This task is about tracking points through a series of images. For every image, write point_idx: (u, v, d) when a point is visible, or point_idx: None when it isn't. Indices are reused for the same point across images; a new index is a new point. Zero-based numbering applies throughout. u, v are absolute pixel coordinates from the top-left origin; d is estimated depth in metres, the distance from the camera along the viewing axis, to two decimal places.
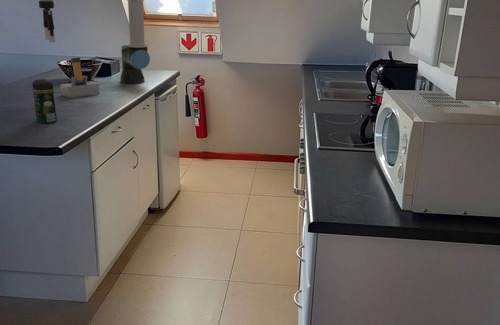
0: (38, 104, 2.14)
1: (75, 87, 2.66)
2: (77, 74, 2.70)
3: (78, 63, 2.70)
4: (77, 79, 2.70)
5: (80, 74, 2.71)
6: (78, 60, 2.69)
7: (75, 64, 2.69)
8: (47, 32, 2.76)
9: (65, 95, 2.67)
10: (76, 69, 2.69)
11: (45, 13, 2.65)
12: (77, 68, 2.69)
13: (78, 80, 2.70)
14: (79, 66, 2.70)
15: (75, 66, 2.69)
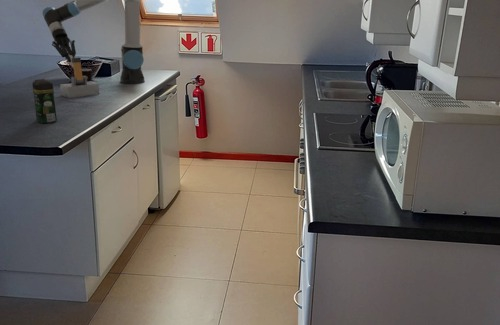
0: (38, 104, 2.14)
1: (75, 87, 2.66)
2: (77, 74, 2.70)
3: (78, 63, 2.69)
4: (77, 79, 2.70)
5: (80, 74, 2.71)
6: (79, 60, 2.69)
7: (75, 64, 2.68)
8: (71, 60, 2.72)
9: (65, 95, 2.67)
10: (76, 69, 2.69)
11: None
12: (77, 68, 2.69)
13: (78, 80, 2.70)
14: (79, 66, 2.70)
15: (75, 66, 2.68)
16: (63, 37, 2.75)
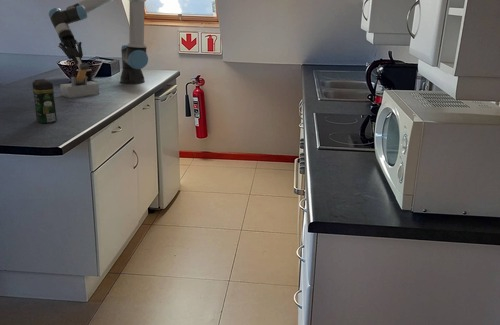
0: (38, 104, 2.14)
1: (75, 87, 2.66)
2: (80, 77, 2.68)
3: (85, 70, 2.66)
4: (78, 81, 2.70)
5: (83, 77, 2.70)
6: (86, 68, 2.65)
7: (82, 71, 2.65)
8: None
9: (65, 95, 2.67)
10: (81, 74, 2.67)
11: None
12: (82, 73, 2.67)
13: (78, 82, 2.71)
14: (85, 72, 2.67)
15: (81, 72, 2.65)
16: (70, 39, 2.70)
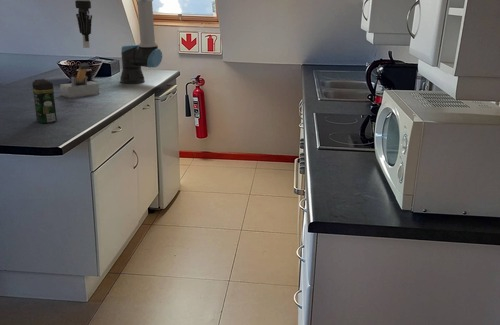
0: (38, 104, 2.14)
1: (75, 87, 2.66)
2: (80, 77, 2.68)
3: (85, 69, 2.66)
4: (78, 81, 2.70)
5: (83, 77, 2.70)
6: (86, 67, 2.65)
7: (81, 70, 2.65)
8: None
9: (65, 95, 2.67)
10: (81, 74, 2.67)
11: (83, 15, 2.50)
12: (82, 73, 2.67)
13: (78, 82, 2.71)
14: (85, 71, 2.67)
15: (81, 72, 2.65)
16: None
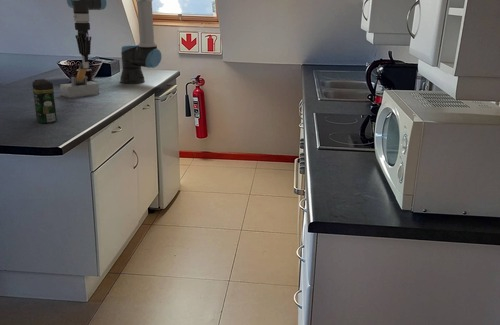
0: (38, 104, 2.14)
1: (75, 87, 2.66)
2: (80, 77, 2.68)
3: (85, 69, 2.66)
4: (78, 81, 2.70)
5: (82, 77, 2.70)
6: None
7: (81, 70, 2.65)
8: None
9: (65, 95, 2.67)
10: (80, 74, 2.67)
11: (82, 36, 2.56)
12: (82, 73, 2.67)
13: (78, 82, 2.71)
14: (84, 71, 2.67)
15: (81, 71, 2.65)
16: None
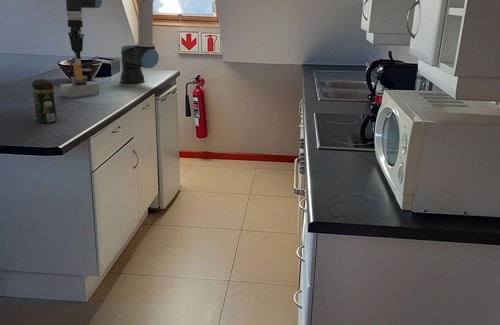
0: (38, 104, 2.14)
1: (75, 87, 2.66)
2: (77, 74, 2.70)
3: None
4: (77, 79, 2.70)
5: (80, 74, 2.71)
6: None
7: None
8: None
9: (65, 95, 2.67)
10: (77, 69, 2.69)
11: (75, 33, 2.61)
12: (78, 68, 2.69)
13: (78, 80, 2.70)
14: (80, 66, 2.70)
15: (76, 66, 2.68)
16: None
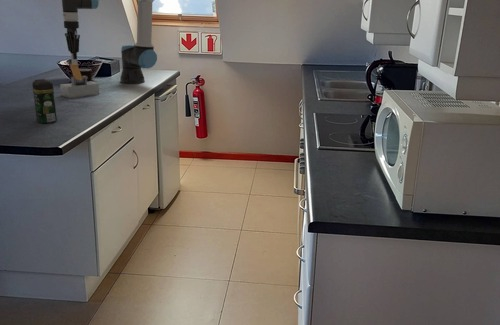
0: (38, 104, 2.14)
1: (75, 87, 2.66)
2: (76, 74, 2.71)
3: None
4: (77, 79, 2.70)
5: (79, 74, 2.72)
6: None
7: (72, 65, 2.71)
8: None
9: (65, 95, 2.67)
10: (74, 69, 2.71)
11: (71, 34, 2.63)
12: (75, 68, 2.71)
13: (78, 79, 2.70)
14: (77, 67, 2.72)
15: (73, 67, 2.71)
16: None
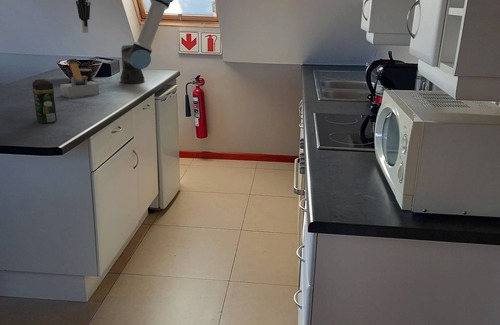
0: (38, 104, 2.14)
1: (75, 87, 2.66)
2: (76, 74, 2.71)
3: (75, 64, 2.72)
4: (77, 79, 2.70)
5: (79, 74, 2.72)
6: (75, 61, 2.72)
7: (72, 65, 2.71)
8: None
9: (65, 95, 2.67)
10: (74, 69, 2.71)
11: (82, 2, 2.72)
12: (75, 68, 2.71)
13: (78, 79, 2.70)
14: (77, 67, 2.72)
15: (73, 67, 2.71)
16: None
